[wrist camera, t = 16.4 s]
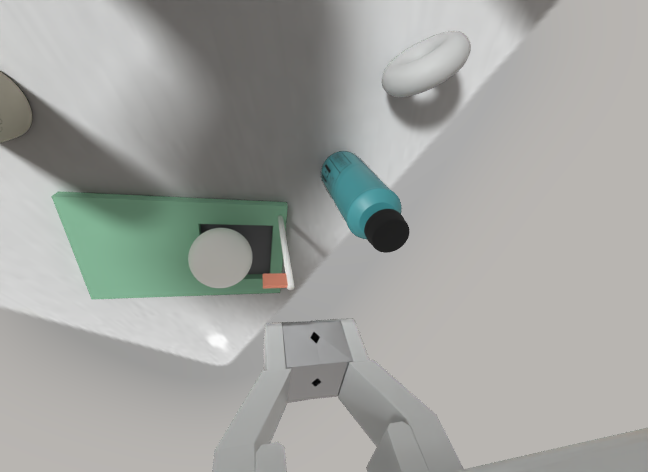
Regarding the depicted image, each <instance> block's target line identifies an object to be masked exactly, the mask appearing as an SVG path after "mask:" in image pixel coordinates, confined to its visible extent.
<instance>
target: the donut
mask: <svg viewBox="0 0 648 472" xmlns="http://www.w3.org/2000/svg"><path fill="white" fill-rule="evenodd" d="M470 48H471V45H470V42H469V39H468V38H467V36H466V35H465V34H464V33H462V32H460V31H448V32H443V33H440V34H437V35H434V36H432V37H429V38H427V39H425V40H423V41H421V42H419V43H417V44H415V45H413V46H411V47H410V48H408V49H406V50H405V51H403V52H402V53H401V54H399V55H398V56H396V57H395V58H394V59H393V60H392V61H391V62H390V63H389V64H388V66H387V67H386V68H385V70H384V72H383V76H382V86H383V88H384V90H385V91H386V92H387V93H389V94H390V95H391V96H394V97H407V96H413V95H416V94H419V93H422V92H425V91H427V90H429V89H432V88H434V87H436V86H437V85H439V84H441V83H443V82H445V81H446V80H447V79H449V78H450V77H452V76H453V75H454V74H455V73H457V72H458V71H459V70H460V69H461V68H462V67H463V65H464V64H465V62H466V60H467V58H468V56H469V53H470Z"/></svg>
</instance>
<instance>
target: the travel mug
mask: <svg viewBox="0 0 648 472" xmlns="http://www.w3.org/2000/svg"><path fill="white" fill-rule="evenodd" d="M31 123H32V112H31V108H30V105H29V103H28V101H27V99H26V97H25V95H24V94H23V93H22V91H21V90H20V89H19V88H18V86H17V85H16V84H15V83H14V82H13V81H12V80H10V79H9V78H8V77H7V76H6V75H4V74H3V73H1V72H0V143H2V142H5V141H8V140H11V139H14V138H17V137H19V136H21V135H23V134H25V133H26V132H27V131H28V129H29V128H30V126H31Z"/></svg>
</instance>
